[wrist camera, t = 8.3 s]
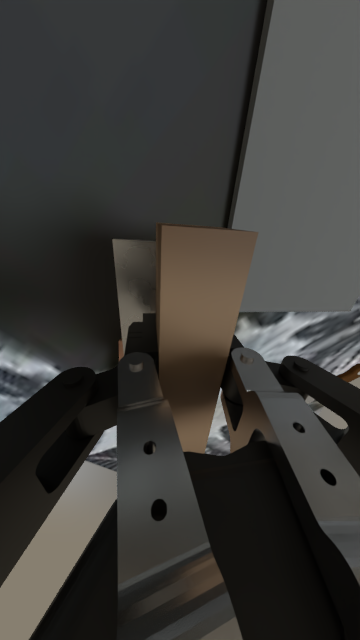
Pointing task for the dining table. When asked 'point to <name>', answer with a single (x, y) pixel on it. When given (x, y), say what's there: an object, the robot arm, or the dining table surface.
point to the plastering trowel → (186, 312)
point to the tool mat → (303, 160)
